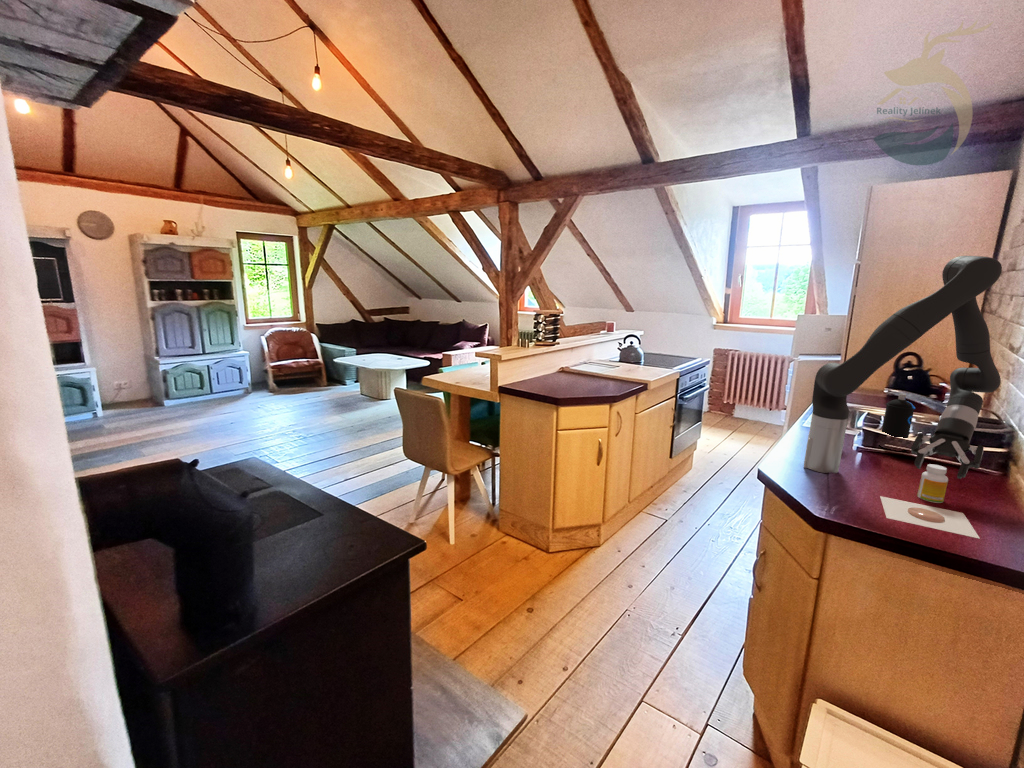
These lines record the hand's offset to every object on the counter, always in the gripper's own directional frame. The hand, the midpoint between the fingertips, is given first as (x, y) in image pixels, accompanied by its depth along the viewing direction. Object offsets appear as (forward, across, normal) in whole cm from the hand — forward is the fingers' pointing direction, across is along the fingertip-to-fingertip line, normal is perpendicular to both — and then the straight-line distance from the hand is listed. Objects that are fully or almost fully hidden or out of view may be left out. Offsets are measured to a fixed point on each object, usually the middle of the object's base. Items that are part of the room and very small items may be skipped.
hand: (938, 472), depth 129 cm
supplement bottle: (+7, 0, +4) cm, 8 cm away
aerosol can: (-25, -20, +36) cm, 49 cm away
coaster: (+17, +2, -7) cm, 18 cm away
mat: (+17, +2, -6) cm, 18 cm away
